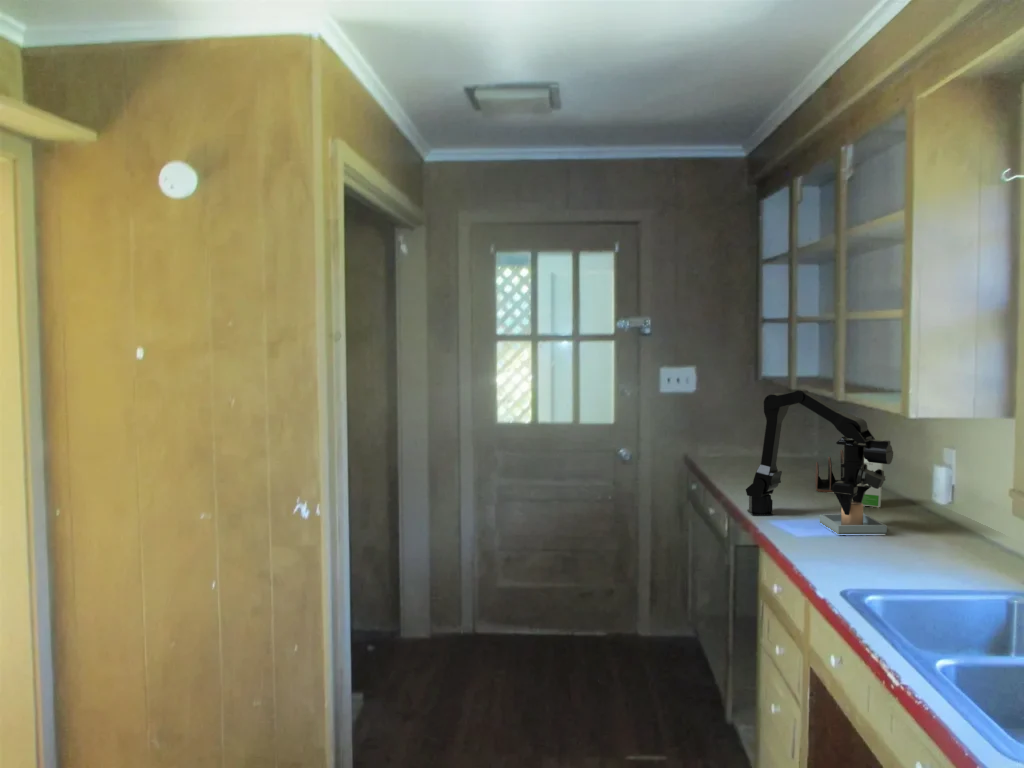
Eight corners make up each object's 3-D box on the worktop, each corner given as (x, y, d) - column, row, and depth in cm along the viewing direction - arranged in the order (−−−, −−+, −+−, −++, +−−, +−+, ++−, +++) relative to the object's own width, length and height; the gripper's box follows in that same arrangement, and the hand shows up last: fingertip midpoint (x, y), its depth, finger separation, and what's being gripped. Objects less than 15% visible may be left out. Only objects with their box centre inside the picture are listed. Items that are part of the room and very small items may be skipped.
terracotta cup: (846, 529, 232) (846, 505, 231) (837, 523, 238) (838, 500, 237) (866, 528, 232) (867, 505, 231) (857, 523, 238) (858, 500, 237)
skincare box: (853, 506, 265) (854, 460, 264) (855, 501, 271) (856, 457, 270) (881, 508, 261) (882, 462, 260) (882, 504, 267) (883, 459, 266)
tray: (838, 536, 228) (838, 526, 228) (819, 523, 242) (819, 514, 242) (886, 535, 228) (886, 525, 228) (864, 523, 242) (864, 513, 242)
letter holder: (842, 483, 303) (843, 447, 301) (845, 494, 284) (846, 455, 283) (814, 481, 306) (815, 446, 305) (815, 492, 287) (816, 454, 286)
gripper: (871, 468, 221) (870, 522, 222) (892, 459, 235) (890, 510, 236) (831, 463, 229) (830, 516, 230) (853, 455, 242) (852, 504, 244)
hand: (852, 511), depth 235 cm, fingers open, 9 cm apart
